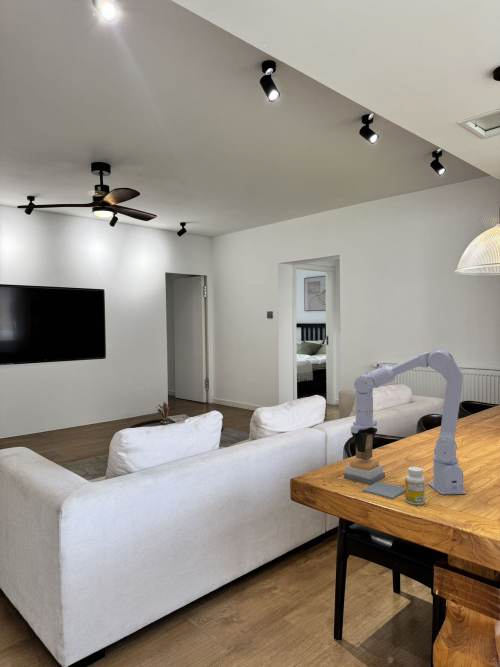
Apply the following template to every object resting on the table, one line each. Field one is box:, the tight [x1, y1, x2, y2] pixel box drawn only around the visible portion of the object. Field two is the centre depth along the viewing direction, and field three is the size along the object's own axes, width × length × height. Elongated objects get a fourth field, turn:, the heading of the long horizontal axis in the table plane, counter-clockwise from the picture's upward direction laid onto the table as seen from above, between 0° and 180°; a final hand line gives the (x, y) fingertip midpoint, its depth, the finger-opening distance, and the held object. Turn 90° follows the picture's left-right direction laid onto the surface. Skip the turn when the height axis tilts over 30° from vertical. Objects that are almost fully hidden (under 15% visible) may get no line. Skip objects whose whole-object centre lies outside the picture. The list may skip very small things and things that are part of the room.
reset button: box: [349, 458, 380, 471], centre depth 158 cm, size 7×7×2 cm
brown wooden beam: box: [355, 434, 373, 460], centre depth 158 cm, size 4×4×8 cm
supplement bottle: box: [405, 466, 426, 506], centre depth 137 cm, size 5×5×10 cm
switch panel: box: [343, 463, 386, 486], centre depth 159 cm, size 10×10×4 cm
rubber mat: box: [362, 481, 406, 500], centre depth 146 cm, size 10×10×1 cm
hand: (364, 450), depth 158 cm, fingers closed on brown wooden beam, 4 cm apart
